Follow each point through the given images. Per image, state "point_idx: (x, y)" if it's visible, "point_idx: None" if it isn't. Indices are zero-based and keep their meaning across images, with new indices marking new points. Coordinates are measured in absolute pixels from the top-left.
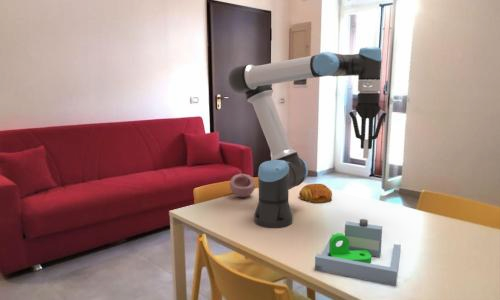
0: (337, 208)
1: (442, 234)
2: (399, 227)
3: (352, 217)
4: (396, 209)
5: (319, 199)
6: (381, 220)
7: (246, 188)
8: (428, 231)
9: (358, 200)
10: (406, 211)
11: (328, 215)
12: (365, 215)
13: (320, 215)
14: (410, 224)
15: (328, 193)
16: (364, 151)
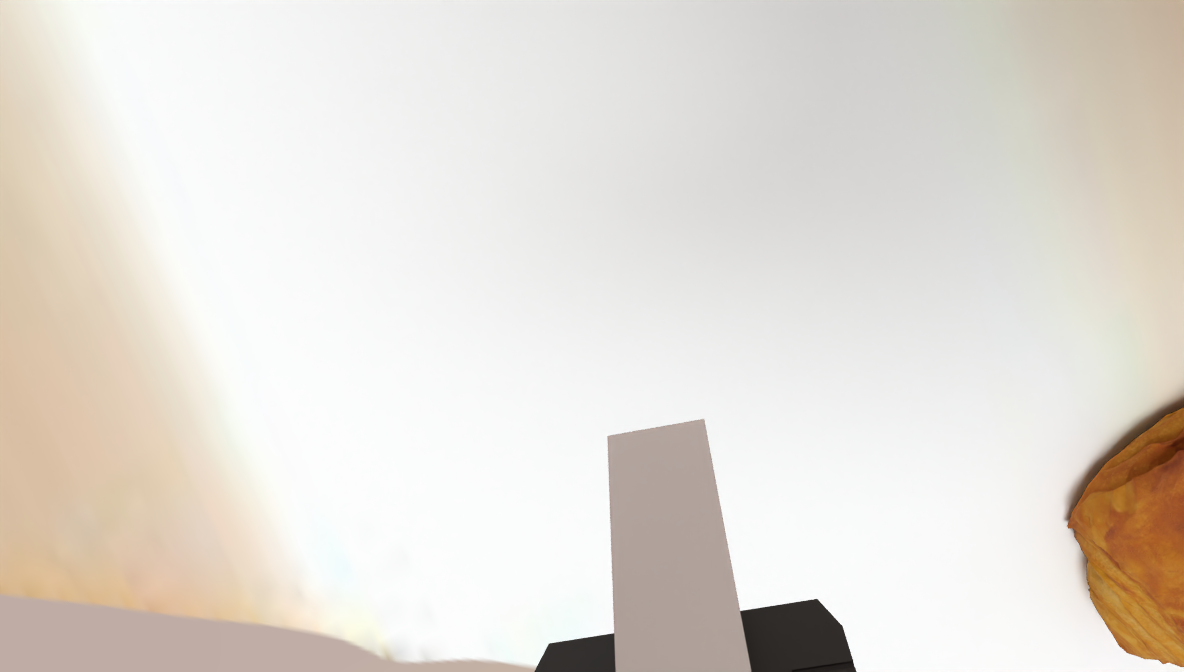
0: (965, 371)
1: (10, 269)
2: (337, 227)
3: (772, 231)
4: (510, 588)
5: (1181, 428)
6: (524, 301)
7: None
8: (118, 271)
9: (846, 629)
10: (430, 585)
11: (999, 155)
12: (684, 340)
13: (1075, 110)
14: (294, 341)
15: (1127, 537)
16: (696, 530)
